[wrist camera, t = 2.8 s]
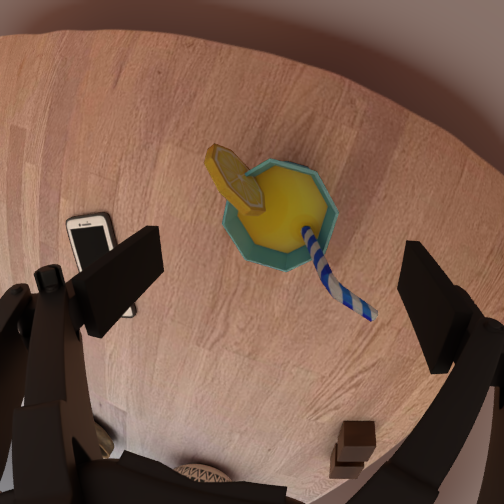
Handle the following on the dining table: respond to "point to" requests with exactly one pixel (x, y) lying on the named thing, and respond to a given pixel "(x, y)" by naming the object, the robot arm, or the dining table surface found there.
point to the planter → (202, 473)
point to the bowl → (104, 441)
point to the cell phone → (92, 241)
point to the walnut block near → (356, 441)
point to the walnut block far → (343, 467)
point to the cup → (280, 217)
